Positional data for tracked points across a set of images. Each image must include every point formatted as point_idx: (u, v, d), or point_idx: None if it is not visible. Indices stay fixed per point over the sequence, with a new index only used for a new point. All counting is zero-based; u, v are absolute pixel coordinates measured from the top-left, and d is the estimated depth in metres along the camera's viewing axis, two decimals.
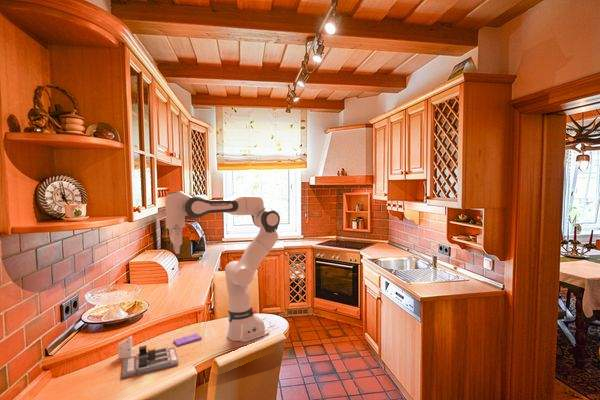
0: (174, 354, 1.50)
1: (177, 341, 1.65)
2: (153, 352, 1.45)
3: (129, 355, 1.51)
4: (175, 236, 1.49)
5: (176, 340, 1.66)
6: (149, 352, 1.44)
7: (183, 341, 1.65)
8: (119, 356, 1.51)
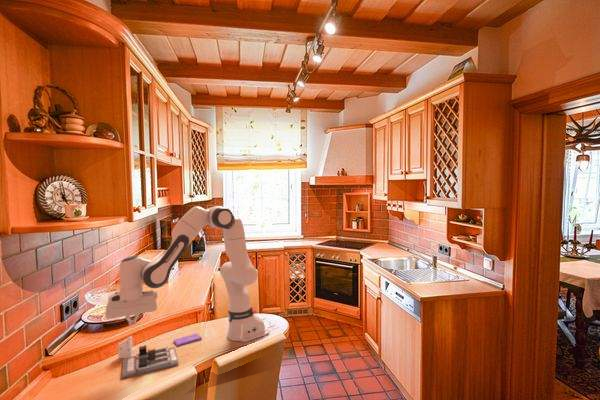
0: (174, 354, 1.50)
1: (177, 341, 1.65)
2: (153, 352, 1.45)
3: (129, 355, 1.51)
4: None
5: (176, 340, 1.66)
6: (149, 352, 1.44)
7: (183, 341, 1.65)
8: (119, 356, 1.51)
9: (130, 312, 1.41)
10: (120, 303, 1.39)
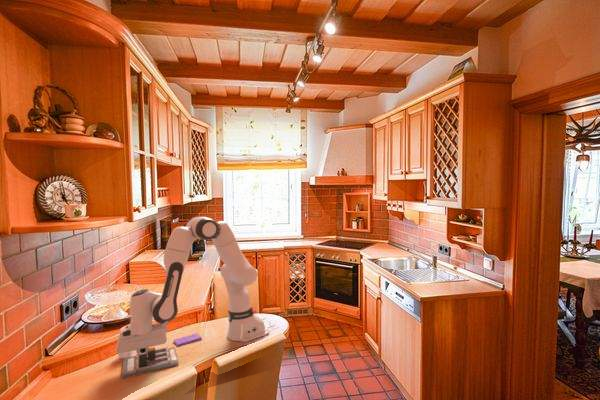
0: (174, 354, 1.50)
1: (177, 341, 1.65)
2: (153, 352, 1.45)
3: (129, 355, 1.51)
4: (165, 334, 1.48)
5: (176, 340, 1.66)
6: (149, 352, 1.44)
7: (183, 341, 1.65)
8: (119, 356, 1.51)
9: (141, 346, 1.42)
10: (131, 337, 1.40)
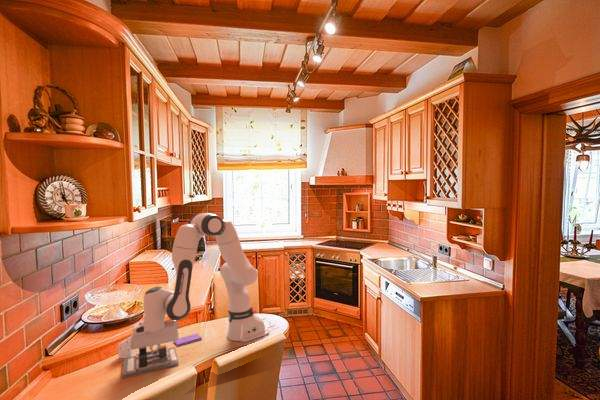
0: (174, 354, 1.50)
1: (177, 341, 1.65)
2: (164, 350, 1.47)
3: (129, 355, 1.51)
4: (177, 331, 1.50)
5: None
6: (160, 350, 1.46)
7: (183, 341, 1.65)
8: (119, 356, 1.51)
9: (153, 342, 1.45)
10: (144, 334, 1.43)
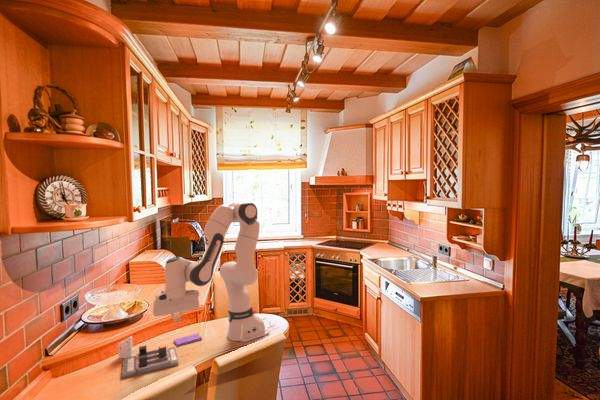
0: (174, 354, 1.50)
1: (177, 341, 1.65)
2: (164, 350, 1.47)
3: (129, 355, 1.51)
4: None
5: (176, 340, 1.66)
6: (160, 350, 1.46)
7: (183, 341, 1.65)
8: (119, 356, 1.51)
9: (175, 310, 1.49)
10: (166, 301, 1.47)
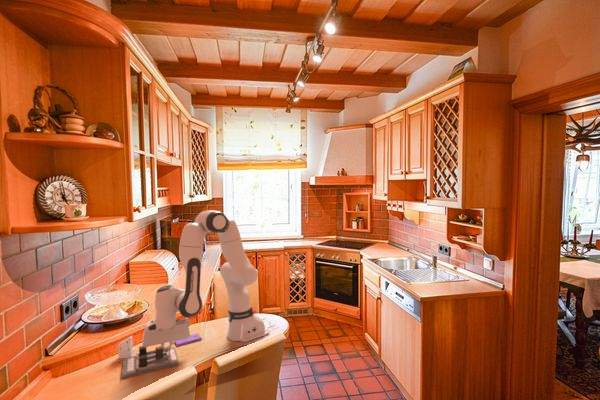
0: (174, 354, 1.50)
1: (177, 341, 1.65)
2: (161, 350, 1.46)
3: (129, 355, 1.51)
4: (188, 328, 1.52)
5: None
6: (157, 350, 1.46)
7: (183, 341, 1.65)
8: (119, 356, 1.51)
9: (165, 340, 1.47)
10: (156, 332, 1.45)
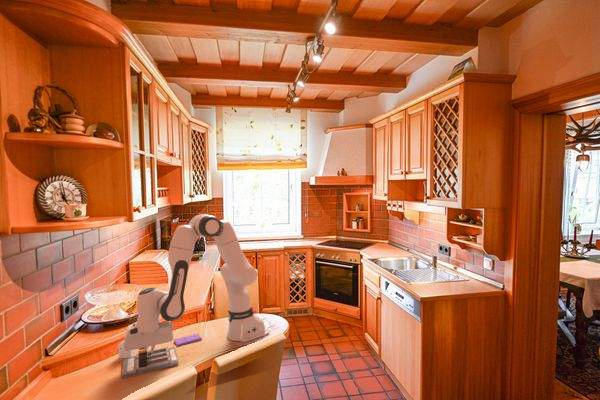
0: (174, 354, 1.50)
1: (177, 341, 1.65)
2: (144, 354, 1.43)
3: (129, 355, 1.51)
4: None
5: (176, 340, 1.66)
6: (140, 354, 1.43)
7: (183, 341, 1.65)
8: (119, 356, 1.51)
9: (147, 344, 1.44)
10: (138, 335, 1.41)
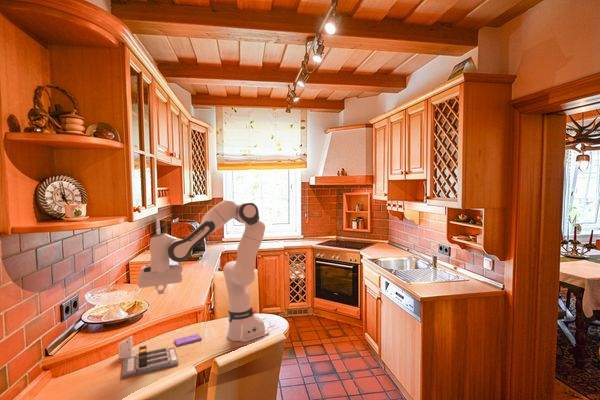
0: (174, 354, 1.50)
1: (177, 341, 1.65)
2: (144, 354, 1.43)
3: (129, 355, 1.51)
4: (181, 274, 1.64)
5: (176, 340, 1.66)
6: (140, 354, 1.43)
7: (183, 341, 1.65)
8: (119, 356, 1.51)
9: (159, 282, 1.59)
10: (151, 274, 1.57)
